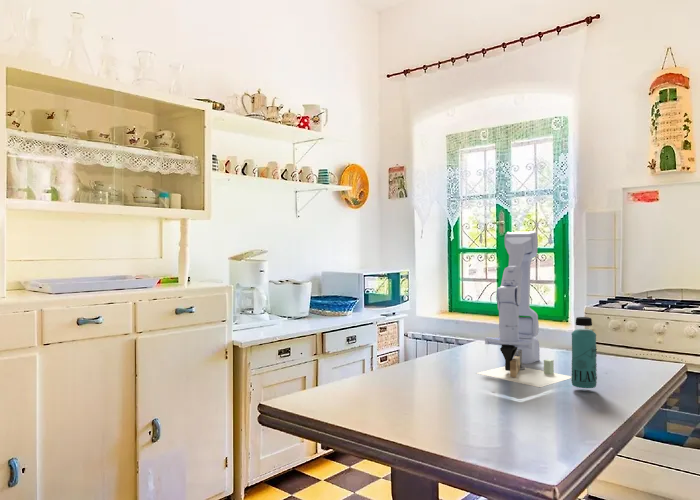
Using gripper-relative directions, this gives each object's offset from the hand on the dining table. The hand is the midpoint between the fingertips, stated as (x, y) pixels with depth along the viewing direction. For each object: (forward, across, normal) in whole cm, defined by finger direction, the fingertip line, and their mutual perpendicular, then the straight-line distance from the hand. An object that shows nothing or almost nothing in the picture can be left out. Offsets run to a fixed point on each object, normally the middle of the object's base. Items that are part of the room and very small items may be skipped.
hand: (509, 370), depth 167 cm
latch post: (+2, +10, +7) cm, 12 cm away
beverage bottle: (+2, +23, -5) cm, 23 cm away
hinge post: (+2, 0, +7) cm, 8 cm away
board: (+2, +4, 0) cm, 5 cm away
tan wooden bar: (+1, +2, 0) cm, 2 cm away
